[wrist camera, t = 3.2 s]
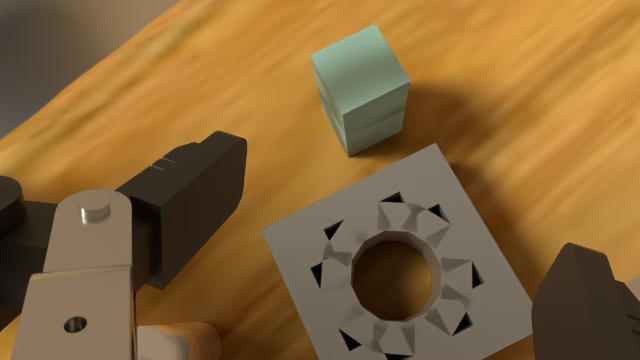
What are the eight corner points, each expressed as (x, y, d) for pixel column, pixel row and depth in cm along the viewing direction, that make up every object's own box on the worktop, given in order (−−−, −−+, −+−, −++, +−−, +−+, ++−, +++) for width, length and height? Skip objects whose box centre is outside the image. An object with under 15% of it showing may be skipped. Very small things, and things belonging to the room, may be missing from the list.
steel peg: (165, 335, 37) (82, 346, 26) (210, 312, 37) (146, 314, 26) (182, 385, 35) (104, 418, 25) (229, 361, 36) (170, 384, 25)
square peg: (322, 109, 40) (309, 55, 32) (373, 84, 41) (374, 23, 32) (348, 157, 39) (342, 114, 30) (401, 131, 39) (410, 81, 31)
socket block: (274, 239, 38) (261, 229, 33) (427, 163, 38) (435, 142, 33) (352, 410, 34) (349, 427, 29) (521, 323, 34) (546, 326, 29)
